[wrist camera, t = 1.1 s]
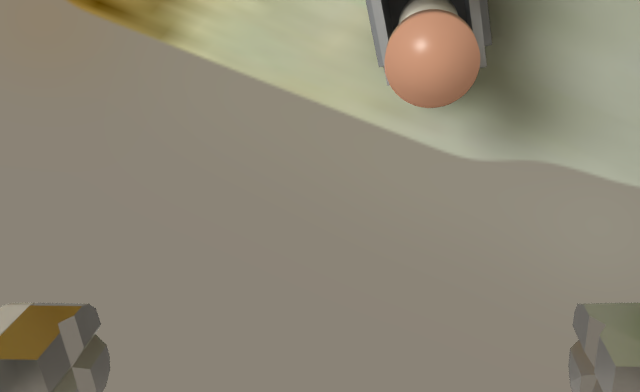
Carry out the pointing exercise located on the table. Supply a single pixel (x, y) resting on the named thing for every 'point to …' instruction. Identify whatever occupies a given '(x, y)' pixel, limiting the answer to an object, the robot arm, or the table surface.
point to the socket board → (385, 13)
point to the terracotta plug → (431, 54)
